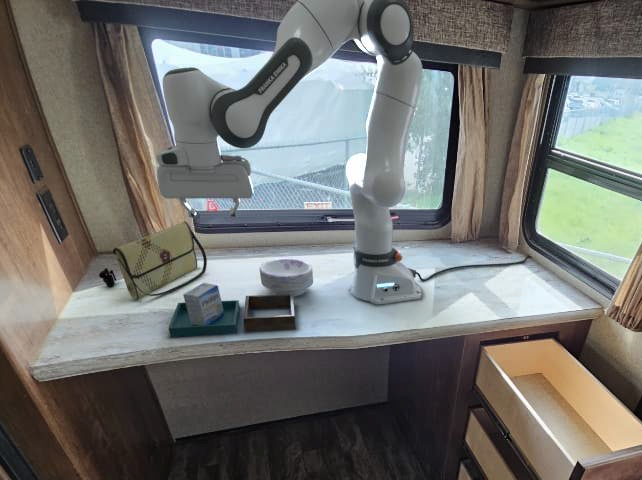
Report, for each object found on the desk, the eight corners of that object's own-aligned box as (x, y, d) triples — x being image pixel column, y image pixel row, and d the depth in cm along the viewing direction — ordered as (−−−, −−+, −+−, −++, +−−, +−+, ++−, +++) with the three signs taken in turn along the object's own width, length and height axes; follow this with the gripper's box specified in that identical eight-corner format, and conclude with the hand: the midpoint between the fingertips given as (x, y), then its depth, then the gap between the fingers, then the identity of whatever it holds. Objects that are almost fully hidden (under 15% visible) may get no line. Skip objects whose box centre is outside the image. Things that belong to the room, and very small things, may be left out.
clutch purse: (148, 306, 118) (130, 253, 109) (125, 302, 119) (106, 248, 110) (215, 268, 142) (205, 222, 133) (196, 265, 143) (184, 218, 134)
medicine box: (206, 327, 111) (198, 296, 106) (190, 324, 112) (182, 293, 107) (225, 314, 117) (218, 284, 112) (210, 311, 118) (203, 281, 113)
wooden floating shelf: (294, 306, 126) (292, 293, 123) (296, 329, 116) (294, 316, 113) (248, 308, 122) (245, 295, 120) (245, 332, 112) (243, 318, 110)
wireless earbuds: (110, 291, 124) (104, 274, 121) (100, 291, 123) (93, 274, 120) (118, 281, 129) (112, 264, 126) (108, 281, 128) (102, 264, 125)
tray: (240, 308, 122) (238, 300, 120) (236, 333, 111) (235, 324, 110) (180, 311, 118) (178, 302, 116) (171, 337, 107) (168, 328, 106)
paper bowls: (310, 279, 142) (308, 256, 137) (317, 299, 130) (315, 275, 126) (261, 282, 137) (257, 258, 132) (264, 303, 125) (260, 278, 121)
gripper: (249, 153, 104) (258, 212, 112) (153, 150, 98) (171, 213, 107) (248, 158, 99) (258, 219, 107) (147, 156, 93) (166, 221, 102)
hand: (214, 216), depth 107 cm, fingers open, 8 cm apart
